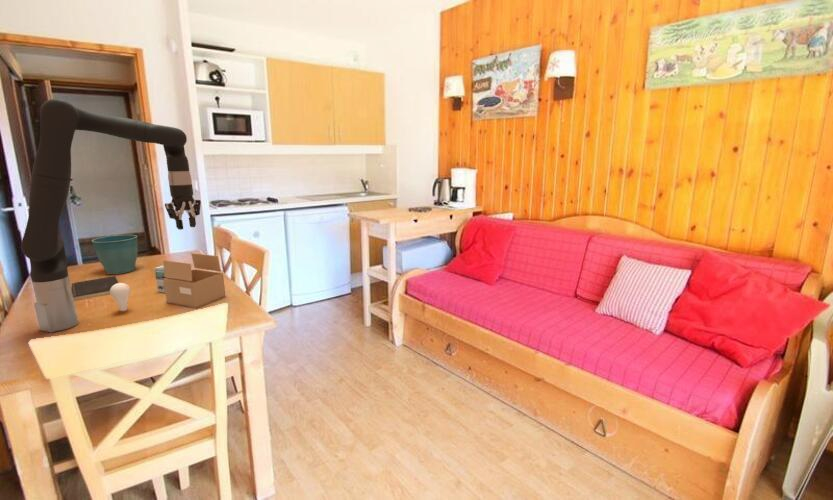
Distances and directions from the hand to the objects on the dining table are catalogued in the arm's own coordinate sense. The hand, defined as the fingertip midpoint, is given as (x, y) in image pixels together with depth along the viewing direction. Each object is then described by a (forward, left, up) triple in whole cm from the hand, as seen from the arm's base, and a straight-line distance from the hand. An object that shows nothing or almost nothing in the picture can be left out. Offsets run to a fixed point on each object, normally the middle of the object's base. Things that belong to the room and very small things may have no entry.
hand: (186, 227), depth 157 cm
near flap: (-6, 0, -15) cm, 17 cm away
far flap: (+6, 0, -15) cm, 17 cm away
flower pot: (+15, +70, -30) cm, 77 cm away
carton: (0, 0, -29) cm, 29 cm away
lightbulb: (-19, +15, -30) cm, 38 cm away
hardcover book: (-7, +52, -30) cm, 60 cm away
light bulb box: (+6, +21, -30) cm, 37 cm away
